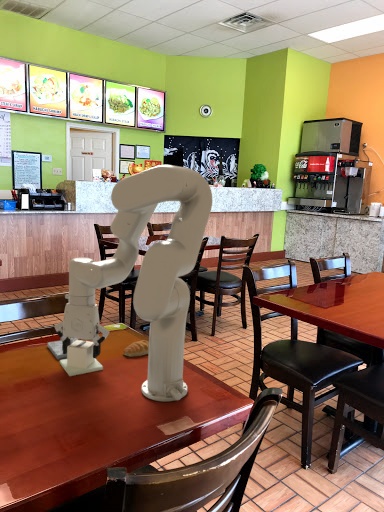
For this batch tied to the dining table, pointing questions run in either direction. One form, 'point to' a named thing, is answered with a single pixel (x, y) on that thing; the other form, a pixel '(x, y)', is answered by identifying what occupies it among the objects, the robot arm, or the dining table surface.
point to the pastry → (137, 348)
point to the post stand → (59, 348)
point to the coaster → (75, 370)
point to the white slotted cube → (80, 354)
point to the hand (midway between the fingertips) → (81, 354)
